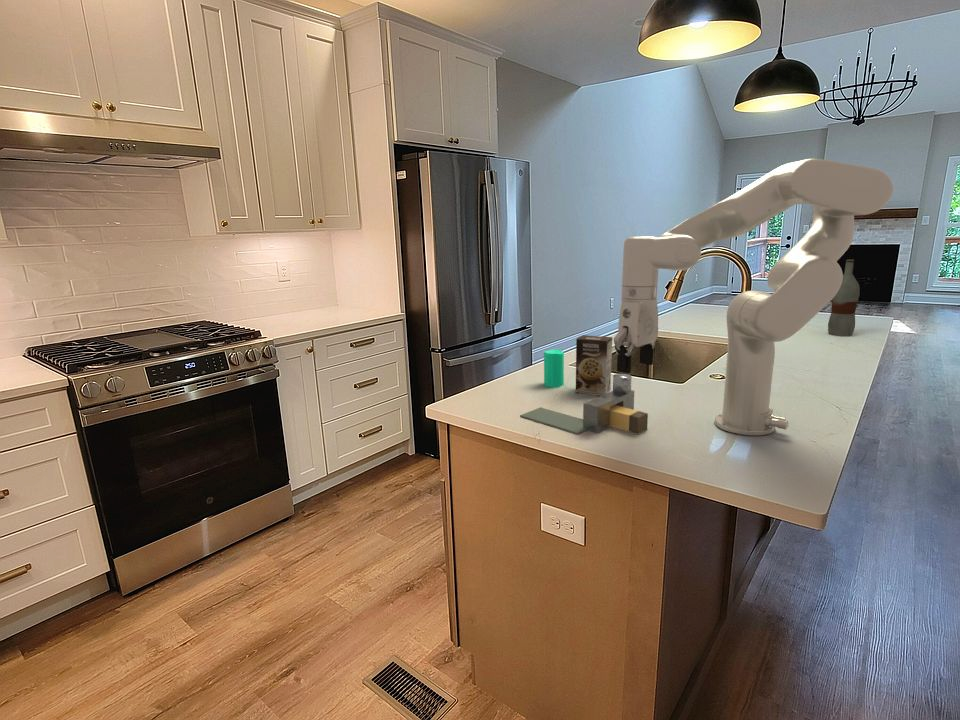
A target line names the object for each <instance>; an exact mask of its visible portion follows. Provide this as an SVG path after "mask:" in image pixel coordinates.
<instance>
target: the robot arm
mask: <svg viewBox="0 0 960 720" xmlns="http://www.w3.org/2000/svg"><path fill="white" fill-rule="evenodd" d="M893 189H894V186H893V181H892V179H891V178H890V177H889V176H888V174H886V173H885V172H884V171H882V170H880V169H876V168H872V167H868V166H862V165H854V164H849V163H845V162H839V161H836V160H835V161H834V160H829V159H821V158H807V159H802V160H798V161H792V162H788V163H785V164H783V165H780V166H778V167H777V168H774V169H773V170H772V171H770V172H768V173H766V174H765V175H763V176H762V177H760V178H758V179H757V180H755V181H754V182H752V183H750V184H749V185H747V186H745V187H743V188H742V189H740V190H738V191H737V192H735V193H734V194H732V195H730V196H729V197H727V198H725V199H723V200H721V201H719V202H717V203H715V204H713V205H712V206H710V207H708V208H707V209H704V210H703V211H700V212H698V213H697V214H695V215H694V216H691V217H689V218H687V219H686V220H684V221H682V222H680V223H679V224H677V225H676V226H674V227H672V228H671V229H669V230H668V231H667V230H666V232H664V233H663V234H661V235H660V236H659V237H656V236H653V235H650V236H649V235H647V236H646V235H645V236H644V235H642V236H641V235H639V236H636V235H635V236H630V237H627V238H626V239H625V240H624V243H623V250H622V251H623V252H622V253H623V255H622V257H623V258H622V276H621V277H622V279H621V294H620V295H621V299H620V300H621V304H620V310H619V317H618V327H617V328H618V329H617V333H616V335H615V336H614V338H613V343H614V349H615V351H616V352H615V354H616V355H617V357H616V359H617V360H616V361H617V362H616V371H617V372H619V373H622V374H630V373H632V355H631V352H632V351H633V348H634V347H636V348H638V347H639V363H640V364H642V365H643V364H644V365H647V366H651V365H654V356H655V355H654V354H655V353H654V351H655V347H656V341H657V340H658V335H659V308H658V307H659V306H658V300H657V299H658V298H657V297H658V281H659V270H670V271H679V272H680V271H686V270H689V269H690V268H693V267H695V265H696V264H697V263H698V262H699V261H700V259H701V255H702V249H703V248H704V247H706V246H709V245H711V244H715V243H717V242H721V241H723V240H728V239H729V240H730V239H733V238H736V237H739V236H742V235H744V234H745V235H746V234H747V233H750V232H751V231H753V230H754V229H756V228H757V227H759V226H761V225H763V224H765V223H766V222H768V221H769V220H771V219H772V218H774V217H776V216H777V215H779V214H781V213H783V212H785V211H786V210H788V209H791V207H794V206H796V205H804V204H805V205H806V204H809V205H812V209H813V217H812V223H811V225H810V227H809V229H808V230H807V232H805V234H804V235H803V236H802V238H800V239H799V240H798V241H797V243H795V245H793V246H792V247H791V248H790V249H789V250H788V251H787V252H786V253H785V254H784V255H783V256H782V257H781V258H780V259H779V260H778V261H776V262H775V264H774V265H773V266H772V267H771V269H770V270H769V271H768V275H767V285H768V287H769V289H770V290H772V291H773V293H769V292H765V291H762V290H761V291H760V290H745V291H743V292H741V293H739V294H737V295H736V296H734V298H733V299H732V300H730V303H729V304H728V307H727V309H726V328H727V329H726V330H727V353H726V366H725V379H724V390H723V404H722V413H719V414H717V415H716V416H715V417H714V423H715V424H714V425H716V427H718V428H719V429H721V430H723V431H726V432H729V433H731V434H732V433H733V434H737V435H744V436H764V435H769V434H771V433H773V432H775V428H777V429H782V430H787V429H788V427H789V421H788V420H787V419H786V418H785V417H781V416H776V415H775V414H773V413H774V409H773V408H770V401H771V394H772V393H771V392H772V384H773V374H774V373H773V372H774V363H775V356H776V355H775V353H776V352H775V351H776V349H775V348H776V347H775V343H776V342H782V341H785V340H787V339H789V338H791V337H793V336H794V335H795V334H796V333H797V332H799V331H801V330H802V328H803V327H804V326H806V325H807V324H808V323H809V322H810V321H811V320H812V319H813V318H815V316H817V315H818V313H819V312H820V311H822V310H823V309H824V308H825V307H826V306H827V305H828V304H829V303H830V302H832V299H833V298H834V297H835V295H836V294H837V292H838V291H839V289H840V287H841V284H842V279H843V274H844V273H843V270H842V267H841V266H840V264H839V263H838V261H839V260H840V259H841V257H842V256H844V254H845V252H846V251H848V249H849V248H850V246H851V244H852V242H853V238H854V232H855V216H866V215H870V214H874V213H876V212H878V211H880V210H882V209H883V208H885V206H886V205H887V204H888V203H889V201H890V200H891V198H892V196H893V192H894V190H893ZM626 347H627V348H626Z"/></svg>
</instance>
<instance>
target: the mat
mask: <svg viewBox="0 0 960 720" xmlns="http://www.w3.org/2000/svg"><path fill="white" fill-rule="evenodd" d="M520 418H523V419H526V420H530V421H533V422H537V423H539V424H543V425H545V426H549V427H553V428H555V429H559V430H562V431H565V432H568V433H572V434H575V435H580V434H581V433H583V432H586V431H588V430H587V429H586V428H583V418H580V417H576V416H573V415H569V414H566V413H561V412H558V411H555V410H552V409H549V408H544V407H538V408H535V409H533V410H530V411H528V412H525V413H522V414H520Z"/></svg>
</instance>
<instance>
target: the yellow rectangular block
mask: <svg viewBox="0 0 960 720" xmlns="http://www.w3.org/2000/svg"><path fill="white" fill-rule="evenodd" d="M648 415H649V413H648V412H643V411H640V410H636V409H634V410H633V409H629V408H625V407H621V406H617V405H613V406H610V417H609V427H613V428H616V429H619V430H623V431H626V432H629V433H633V434H635V435H639V434H641V433H642V432H644V431H647V430H648V420H649V419H648V417H649V416H648Z"/></svg>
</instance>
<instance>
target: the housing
mask: <svg viewBox="0 0 960 720" xmlns="http://www.w3.org/2000/svg"><path fill="white" fill-rule="evenodd" d="M613 405H617V406H621V407H625V408H629V409H633V410H635V409H634V408H635V390H633V389H632V375H631V374H629V373H616V374H614V375H613V376H612V391H611V390H610V391H609V392H608V393H607V394H604V395H599V396H598V397H595V398H592V399H591V400H588V401H586V402H583V404H582V406H583V411H582V413H583V414H582V419H583V428H586V429H587V430H586V431H589V432H591V433H595V434H599V433H601V432H602V431H605V430H607V429H608V428H610V426H609V417H610V406H613Z"/></svg>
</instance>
